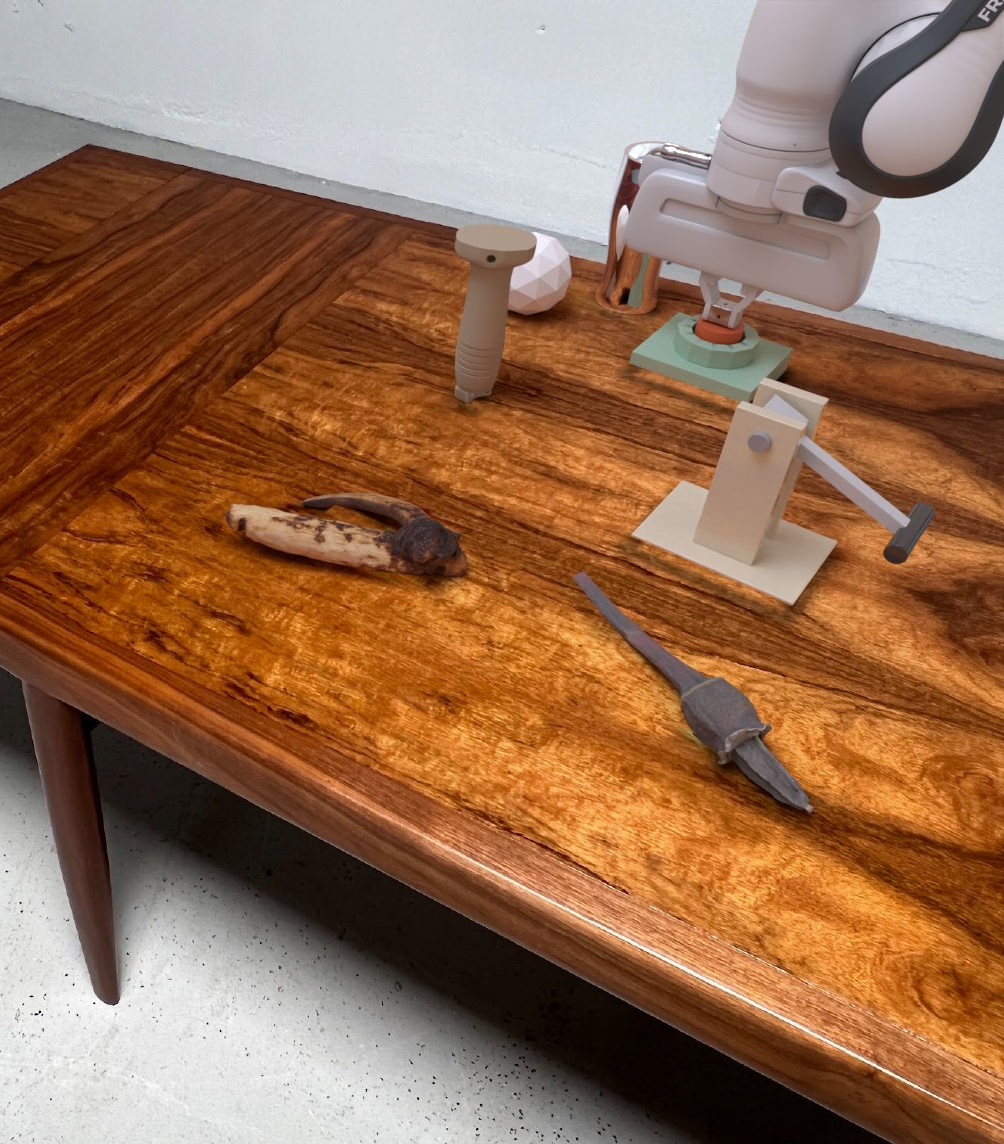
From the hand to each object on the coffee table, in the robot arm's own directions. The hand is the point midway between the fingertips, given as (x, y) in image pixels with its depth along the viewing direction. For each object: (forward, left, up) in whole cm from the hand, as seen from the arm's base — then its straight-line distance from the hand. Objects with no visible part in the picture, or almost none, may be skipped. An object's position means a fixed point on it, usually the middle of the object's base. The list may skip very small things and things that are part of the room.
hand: (719, 322), depth 100 cm
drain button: (0, 0, -2) cm, 2 cm away
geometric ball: (+19, 0, -5) cm, 20 cm away
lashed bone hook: (+10, +42, -5) cm, 43 cm away
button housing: (0, 0, -5) cm, 5 cm away
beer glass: (+12, -8, -5) cm, 15 cm away
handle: (+14, +18, -5) cm, 23 cm away
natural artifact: (-15, +40, -5) cm, 43 cm away
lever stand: (-12, +24, -5) cm, 27 cm away
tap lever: (-16, +24, +3) cm, 29 cm away
